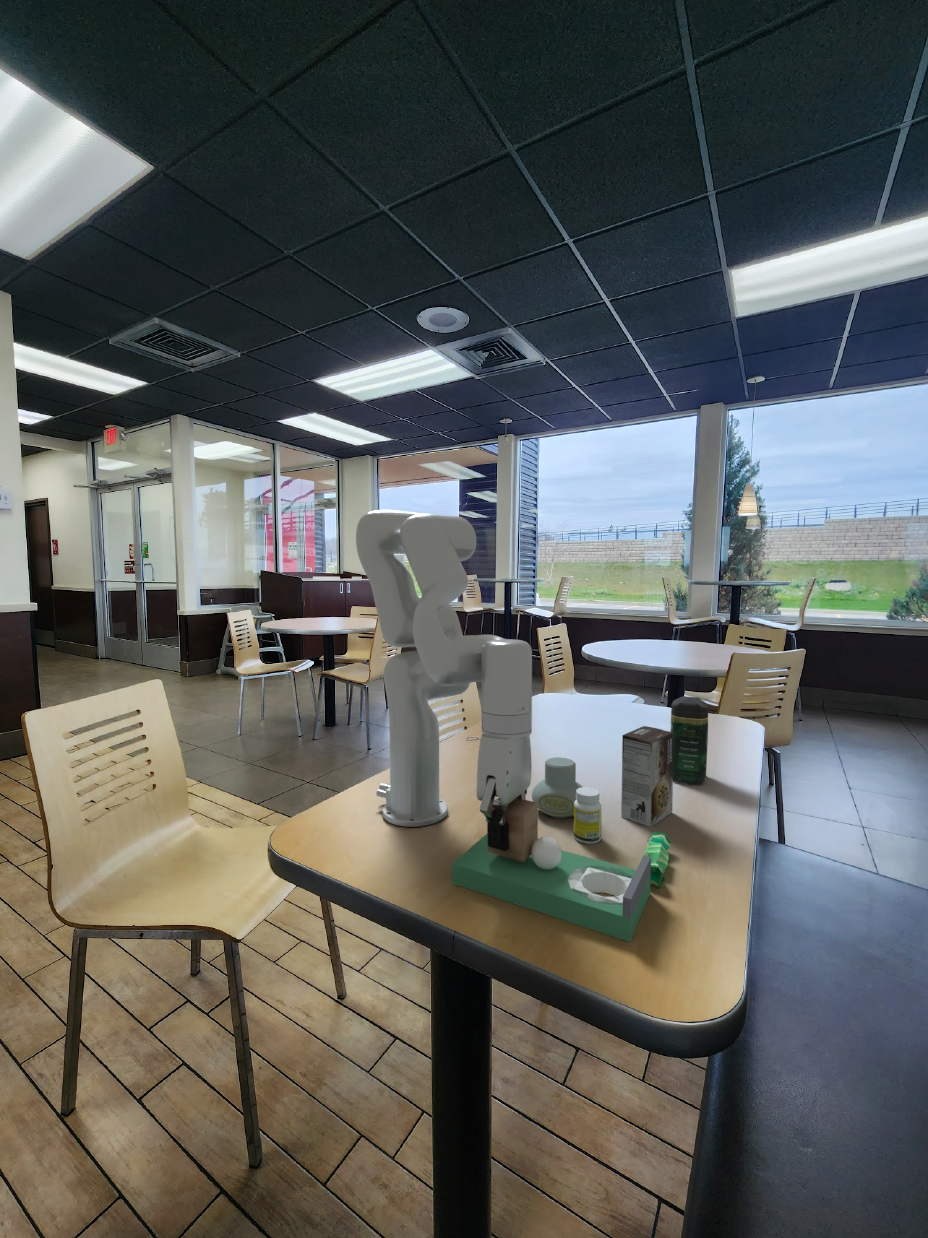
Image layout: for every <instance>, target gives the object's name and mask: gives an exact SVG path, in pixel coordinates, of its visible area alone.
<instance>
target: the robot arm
mask: <svg viewBox="0 0 928 1238" xmlns="http://www.w3.org/2000/svg"><path fill="white" fill-rule="evenodd" d="M357 522H358V523H357V526H356V530H355V532H356V533H355V546H356V552H357V555H358V558H359V559H358V560H359V561H360V564H361V567H362V569H363V571H364V573H365V575H366V577H367V580H368V582H369V584H370V587H371V590H372V597H373V600H374V604H375V609H376V614H377V617H378V622H379V627H380V631H381V634H382V638H383V640H384V642H385V643H386V644H387V645H389V646H390V647H394V648H414V647H415V648H416V650H412V651H411V650H410V651H404V652H400V653H398V654H394V655H393V656H392V657H390V658H389V659H388V660H387V662H386V663H385V665H384V668H383V682H384V683H383V684H384V687H385V688H384V689H385V693H386V698H387V705H388V706H387V707H388V708H387V709H388V718H389V719H388V721H389V722H388V723H389V724H388V725H389V727H388V728H389V783H385V782H381V783H380V784H379V786H378V787H379V788H378V789H377V790H376V796H377V797H379V798H383V799H385V804H384V805H383V807H382V810H381V811H382V814H383V815H382V817H383V818H385V819H386V820H385V819H384V820H385V821H387V822H388V823H390V824H392V825H395V826H399V827H400V826H401V827H407V828H408V827H409V828H410V827H411V828H412V827H413V828H414V827H424V826H430V825H432V824H433V825H434V824H436V823H438V822H440V821H442V820H443V819H445V818H446V816H447V815H448V804H447V802H446V801H444V800H442V799H441V798H440V724H439V719H438V717H437V715H436V713H435V712H434V710H433V709H432V708H431V706H430V704H429V703H428V702H429V701H430V700H434V699H440V698H447V697H454V696H458V695H461V694H463V693H464V692H466V691H467V690H468V689H469V687H470V686H471V683H480V682H481V733H482V734H481V737H480V740H479V747H478V748H479V750H478V756H477V768H476V769H477V770H476V771H477V772H476V799H477V800H478V801H480V802H481V803H480V807H479V811H480V813H482V815H484V817H485V821H486V822H488V846H489V847H492V848H495V849H499V850H502V851H507V850H508V849H509V824H508V823H506V818H507V809H508V804H509V803H510V802H511V801H513V800H514V799H515V798H518V799H523V800H527V798H526V797H527V793H528V788H529V787H530V785H531V782H532V745H531V734H532V732H533V718H532V717H533V715H532V714H533V711H532V710H533V696H532V695H533V673H532V672H533V650H532V646H531V645H530V643H528V642H527V641H524V640H521V639H512V638H511V639H509V638H508V639H507V638H503V637H501V636H498V635H494V634H475V635H472V634H470V635H463V630H462V627H461V623H460V620H459V616H458V614H457V612H456V610H455V609H454V607H453V606H452V605H451V604H450V603H452V602H454V601H456V600H457V599H458V598H459V597H460V596H462V594H463V593H465V591H466V589H467V588H468V585H469V578H468V575H467V572H466V570H465V569H464V566H463V563H462V562H464V561H467V560H470V558H471V557H472V556H473V554H474V553H475V551H476V547H477V536H476V535H477V534H476V531H475V529H474V527H473V525H472V524H471V523H470V522H469V521H468V520H467V519H466V518H464V517H461V516H457V515H447V514H445V515H444V514H437V513H429V512H428V513H427V512H418V511H417V512H414V511H406V510H405V511H404V510H393V509H378V510H377V509H376V510H371V511H369V512H366V513H365V514H364V515H362V517H361V518H360V519H359V521H357ZM395 554H400V555H403V554H405V556H406V558H407V561H408V563H409V565H410V568H411V570H412V574H413V576H414V578H415V581H416V583H417V586H418V588H419V591H420V593H421V597H419V595H418V593H417V591H416V585H415V581H414V579H413V576H412V574H411V573H410V572H409V570H408V569H407V567H406V566H405V564H403V563H402V562H401V561H400V560H399V559H398V558H397V557H396V556H395ZM496 797H497V798H499V797H500V801H498V800H496V799H495V798H496ZM494 805H496V806H501V812H500V813H499V812H498V810H495V809H494Z"/></svg>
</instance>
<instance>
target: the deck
mask: <svg viewBox="0 0 928 1238" xmlns="http://www.w3.org/2000/svg"><path fill="white" fill-rule="evenodd" d="M561 852H562V857H561V860H560V862H559V864H558V865H557V866H556V867H555V868H553V869H549V870H545V869H542V868H540V867H538V866H537V865H536V864H535V863H534V861H533V859H532V855H530V856H529V857H528V859H527V860H526V861H525V862H521V861H518V860H514V859H511V858H507V857H504V856H500V855H497V854H493V853H489V852H487V833H486V834H485V835H484V836H482V837H481V838H480V839H479V840H478V841H476V842H475V843H474V844H473V845H472V846H471V847H470V848H468V849H467V850H466V851H465V852H464V853H462V855H460V856H459V857H458V858H457V859H455V861H453V862H452V863H451V883H452V884H453V885H457V886H461V887H463V888H465V889H469V890H472V891H474V892H478V893H481V894H484V895H487V896H490V897H492V898H493V897H494V898H495V899H499V900H502V901H505V902H508V903H510V904H514V905H517V906H521V907H523V908H526V909H529V910H531V911H535V912H539V913H541V914H544V915H547V916H550V917H553V918H556V919H560V920H562V921H565V922H569V923H571V924H574V925H577V926H580V927H583V928H586V929H589V930H591V931H596V932H599V933H601V934H605V935H606V936H607V935H608V936H610V937H613V938H617V939H619V940H622V941H625V942H629V943H632V942H631V941H632V938H633V936H634V934H635V932H636V930H637V927H638V924H639V922H640V920H641V917H642V915H643V912H644V910H645V907H646V905H647V903H648V901H649V897H650V895H651V883H650V879H651V857H650V856H646V855H644V854H643V855H642V858H641V859H640V862H639V864H638V866H637V868H636V869H634V868H630V867H627V866H623V865H619V864H615V863H613V862H608V861H605V860H599V859H596V858H593V857H589V856H585V855H581V854H577V853H573V852H569V851H566V850H562V849H561ZM597 893H605V894H607V895H611V896H602V895H599V894H597Z"/></svg>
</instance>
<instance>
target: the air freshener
mask: <svg viewBox="0 0 928 1238" xmlns="http://www.w3.org/2000/svg"><path fill="white" fill-rule="evenodd" d="M576 768H577V766H576V762H575V761H574V760H573V759H571V758H567V757H558V756H556V757H550V758H547V760H545V762H544V779H543V780H541V781H539V782H538V783H537V784H535V786H534V787H533V789H532V791H531V799H532V800H531V801H532V802H537V803H538V811H541V812H542V813H544V814H546V815H547V816H550V817H552V818H555V819H567V818H571V817H574V802H575V800H576V790H577V789H578V788H581V787H584V786H583V785H582V784H580V783H579V782H577V781H576V780H577V779H576V777H577V776H576V774H577V773H576Z"/></svg>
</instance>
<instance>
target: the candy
mask: <svg viewBox="0 0 928 1238" xmlns="http://www.w3.org/2000/svg"><path fill="white" fill-rule="evenodd" d="M671 845H672V841H671V840H670V838H669V836H668V835H667V833H666V832H659V831H652V833H651V834H650V836H649V837H648V839H647V846H646V847H645V849H644V852H643V855H646V856H650V857H651V879H650V884H651V885H652V884H654V885H655V886H656V887H657V889H659V888H660V887H661V886H662V884H663V883H664V881H665V880H666V878H665V876H664V873H665V872H666V870H667V868H668V864H669V856H670V854H669V853H668V852H667V850H669V849H670V847H671Z"/></svg>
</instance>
